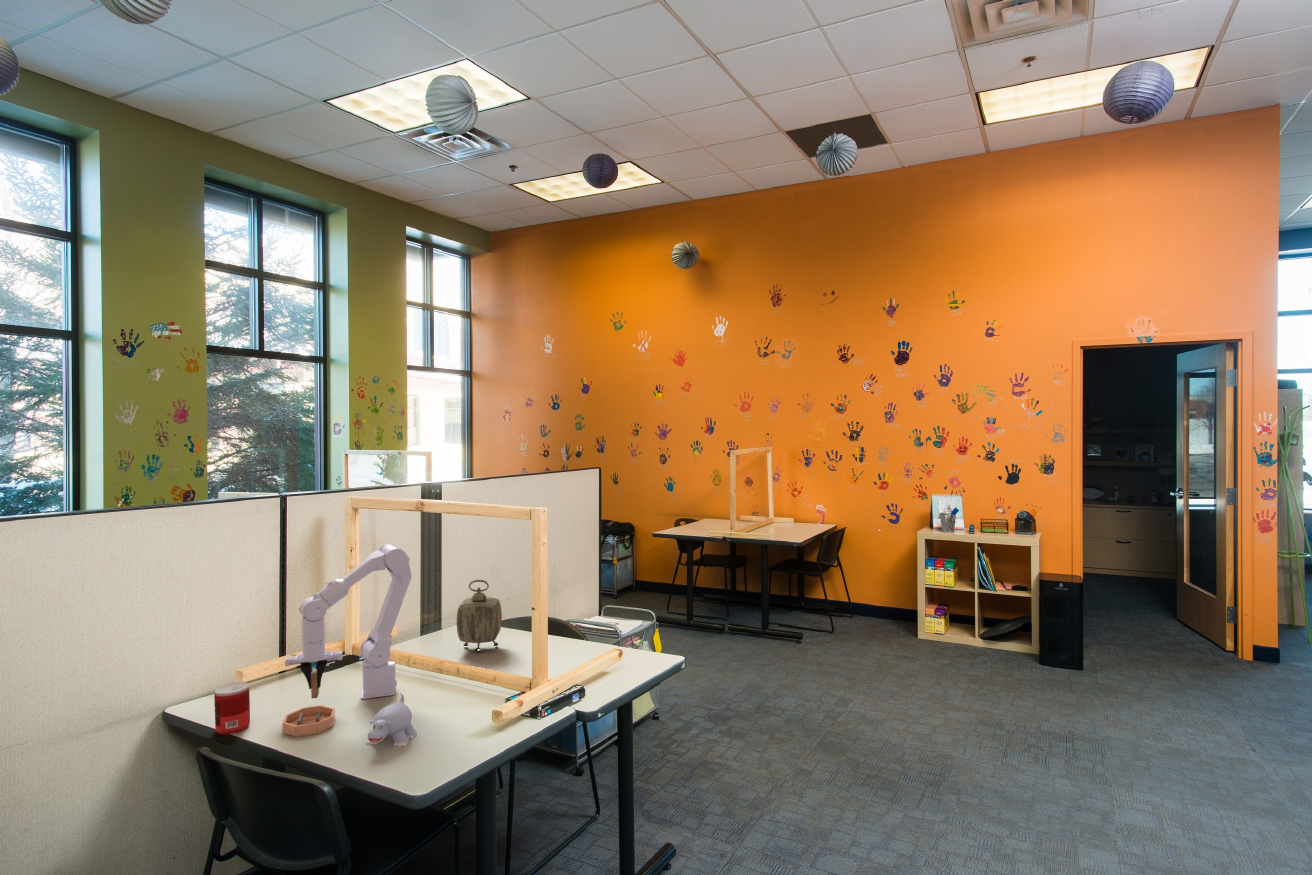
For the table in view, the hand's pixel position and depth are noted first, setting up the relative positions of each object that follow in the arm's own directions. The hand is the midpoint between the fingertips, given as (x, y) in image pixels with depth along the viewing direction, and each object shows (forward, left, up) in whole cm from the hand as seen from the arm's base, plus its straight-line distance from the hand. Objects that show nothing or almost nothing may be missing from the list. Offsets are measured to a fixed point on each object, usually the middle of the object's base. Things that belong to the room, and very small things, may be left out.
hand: (315, 687), depth 198 cm
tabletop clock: (-49, -33, -6) cm, 59 cm away
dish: (0, +12, -6) cm, 13 cm away
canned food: (+19, +7, -6) cm, 21 cm away
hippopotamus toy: (-20, +30, -6) cm, 36 cm away
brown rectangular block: (0, 0, -3) cm, 3 cm away
